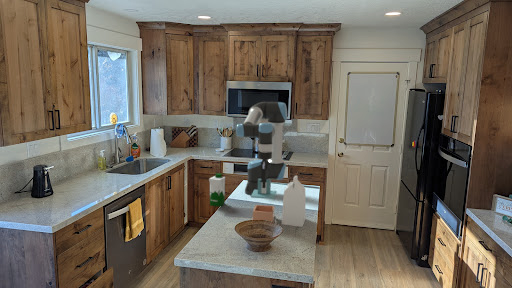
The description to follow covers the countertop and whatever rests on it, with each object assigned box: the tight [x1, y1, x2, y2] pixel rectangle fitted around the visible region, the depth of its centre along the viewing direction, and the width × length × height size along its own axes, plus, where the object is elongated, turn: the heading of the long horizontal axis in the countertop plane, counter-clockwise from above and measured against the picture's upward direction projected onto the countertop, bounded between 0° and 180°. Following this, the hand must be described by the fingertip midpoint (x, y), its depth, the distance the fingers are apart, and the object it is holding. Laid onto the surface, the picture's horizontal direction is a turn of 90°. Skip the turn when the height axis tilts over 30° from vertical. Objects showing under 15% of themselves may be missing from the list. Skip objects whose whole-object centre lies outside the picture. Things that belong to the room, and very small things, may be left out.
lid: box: [250, 179, 278, 200], centre depth 196 cm, size 13×13×9 cm
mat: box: [224, 206, 254, 219], centre depth 209 cm, size 16×16×1 cm
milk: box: [281, 175, 306, 228], centre depth 196 cm, size 12×12×26 cm
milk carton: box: [208, 172, 226, 208], centre depth 221 cm, size 9×9×20 cm
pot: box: [252, 204, 275, 223], centre depth 199 cm, size 11×11×7 cm
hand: (264, 192), depth 197 cm, fingers closed on lid, 2 cm apart
